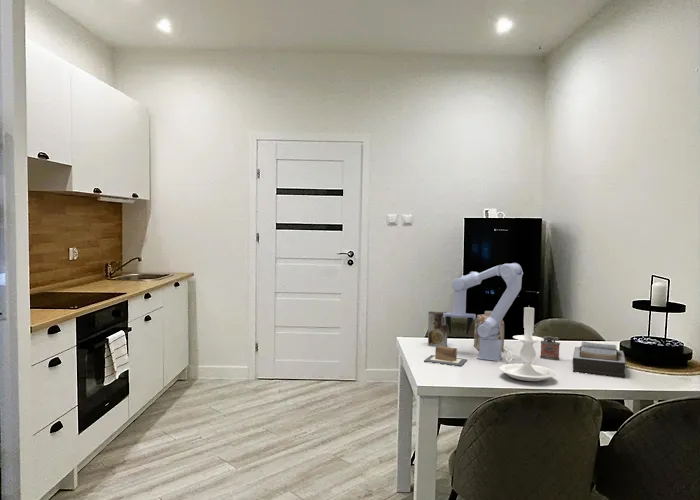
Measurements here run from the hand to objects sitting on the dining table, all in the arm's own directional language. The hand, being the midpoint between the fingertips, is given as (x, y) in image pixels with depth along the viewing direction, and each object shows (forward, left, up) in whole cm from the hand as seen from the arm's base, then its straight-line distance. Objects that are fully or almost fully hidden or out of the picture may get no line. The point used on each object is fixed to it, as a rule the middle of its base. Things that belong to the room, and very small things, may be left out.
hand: (458, 333), depth 249 cm
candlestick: (-32, +29, -9) cm, 44 cm away
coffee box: (+13, -12, -9) cm, 20 cm away
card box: (+1, +19, -8) cm, 21 cm away
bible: (-59, -1, -10) cm, 59 cm away
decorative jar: (-11, -16, -9) cm, 22 cm away
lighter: (-39, -9, -9) cm, 41 cm away
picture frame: (+1, +19, -9) cm, 21 cm away
